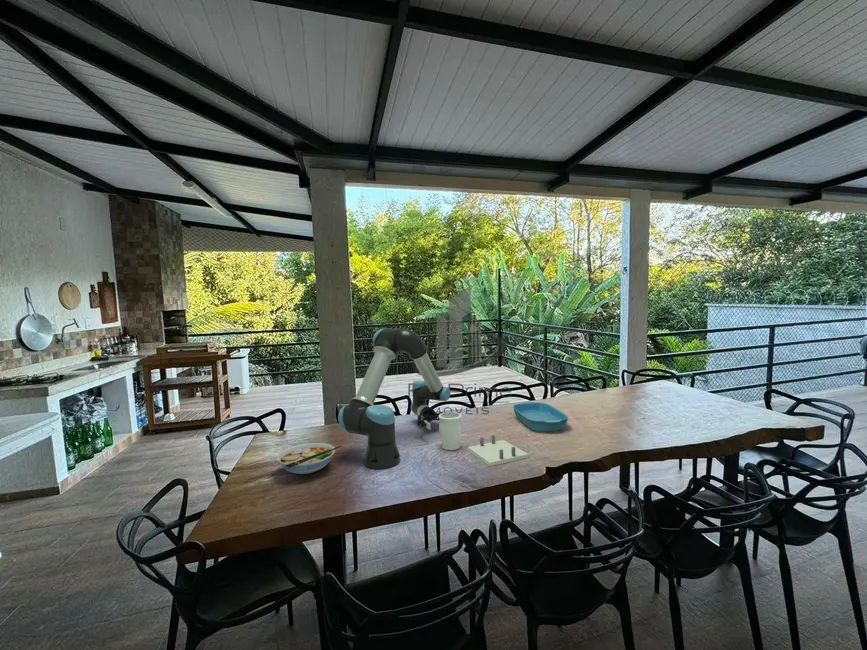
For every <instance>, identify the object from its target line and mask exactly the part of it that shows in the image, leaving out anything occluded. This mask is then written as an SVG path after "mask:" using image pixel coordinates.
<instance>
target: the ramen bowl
mask: <svg viewBox="0 0 867 650" xmlns="http://www.w3.org/2000/svg"><path fill="white" fill-rule="evenodd" d="M341 447H342V445H341V446H340V445H339V446H336V447H335V446H333V445H331V444H329V443H325V442H323V443H322V442H312V443H303V444H298V445H296V446H292V447H289V448H287V449H284V450H283V451H281V452H280V453H279V454H277V458H276V460H277V462H278V464H280V465H281V467H283V469H284V470H286V471H287V472H289V473H292V474H297V475H298V474H299V475H309V474H310V475H311V474H313V473H314V472H317V471H319V470H322V469H323V468H324V467H326V466H327V465H328V464H329V463H330V461H331V460H332V458H333V457H334V456H335V455H334V454H335V453H336V450H337V449H339V448H341Z"/></svg>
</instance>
